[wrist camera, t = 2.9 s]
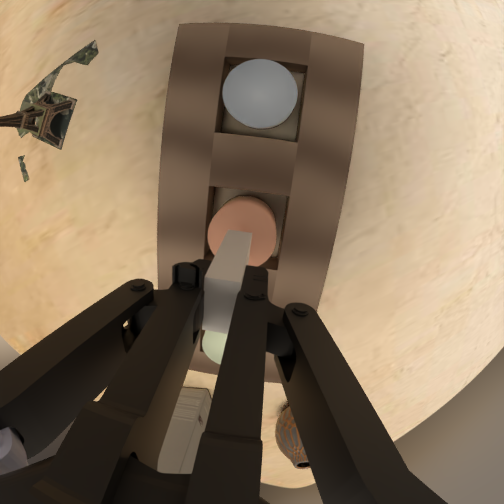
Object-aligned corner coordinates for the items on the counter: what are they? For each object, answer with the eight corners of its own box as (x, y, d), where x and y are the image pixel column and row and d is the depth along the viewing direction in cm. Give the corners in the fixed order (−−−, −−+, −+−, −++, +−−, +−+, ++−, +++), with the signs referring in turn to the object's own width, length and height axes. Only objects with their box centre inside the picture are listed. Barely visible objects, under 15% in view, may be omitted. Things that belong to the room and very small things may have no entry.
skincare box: (219, 422, 35) (200, 518, 20) (172, 417, 36) (144, 506, 21) (208, 385, 32) (180, 499, 17) (156, 381, 33) (114, 482, 18)
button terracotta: (218, 192, 22) (210, 199, 19) (280, 200, 22) (281, 209, 19) (213, 249, 24) (205, 264, 21) (271, 257, 23) (270, 273, 21)
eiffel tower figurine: (99, 38, 18) (5, 4, 6) (122, 121, 22) (11, 121, 9) (11, 112, 21) (-73, 123, 9) (28, 184, 24) (-59, 218, 12)
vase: (329, 391, 31) (338, 449, 23) (326, 421, 34) (331, 472, 26) (274, 396, 32) (272, 455, 24) (277, 424, 35) (275, 476, 26)
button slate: (233, 67, 18) (227, 56, 15) (297, 74, 18) (301, 64, 15) (225, 125, 20) (218, 123, 17) (290, 133, 20) (292, 132, 17)
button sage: (209, 302, 26) (202, 321, 23) (262, 310, 25) (260, 330, 23) (207, 341, 27) (201, 362, 25) (255, 349, 27) (253, 370, 24)
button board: (187, 34, 18) (179, 24, 16) (355, 52, 18) (364, 44, 15) (170, 349, 30) (163, 364, 28) (292, 368, 30) (293, 384, 28)
